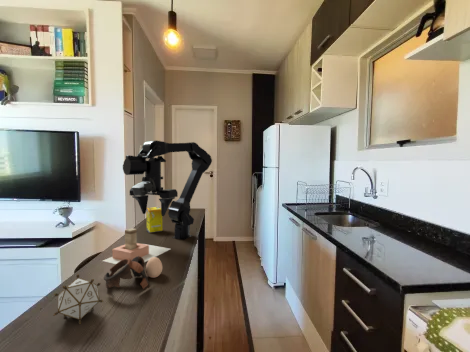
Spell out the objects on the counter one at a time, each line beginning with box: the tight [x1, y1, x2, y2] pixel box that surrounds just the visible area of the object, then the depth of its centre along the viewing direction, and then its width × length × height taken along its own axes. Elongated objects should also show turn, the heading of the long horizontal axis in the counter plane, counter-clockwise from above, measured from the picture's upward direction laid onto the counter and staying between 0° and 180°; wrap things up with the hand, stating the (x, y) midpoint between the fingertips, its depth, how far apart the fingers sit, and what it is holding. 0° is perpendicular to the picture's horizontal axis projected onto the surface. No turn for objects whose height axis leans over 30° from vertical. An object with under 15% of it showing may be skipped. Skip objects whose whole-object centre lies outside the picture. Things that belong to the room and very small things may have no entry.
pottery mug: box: [103, 256, 150, 291], centre depth 64 cm, size 12×10×8 cm
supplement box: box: [145, 206, 164, 234], centre depth 112 cm, size 6×6×11 cm
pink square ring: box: [111, 242, 150, 261], centre depth 82 cm, size 8×8×3 cm
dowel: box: [124, 227, 138, 250], centre depth 82 cm, size 3×3×9 cm
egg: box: [145, 256, 163, 279], centre depth 68 cm, size 4×4×6 cm
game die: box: [52, 273, 104, 325], centre depth 51 cm, size 9×8×10 cm
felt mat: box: [102, 243, 171, 265], centre depth 84 cm, size 18×13×1 cm
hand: (153, 214), depth 93 cm, fingers open, 9 cm apart
